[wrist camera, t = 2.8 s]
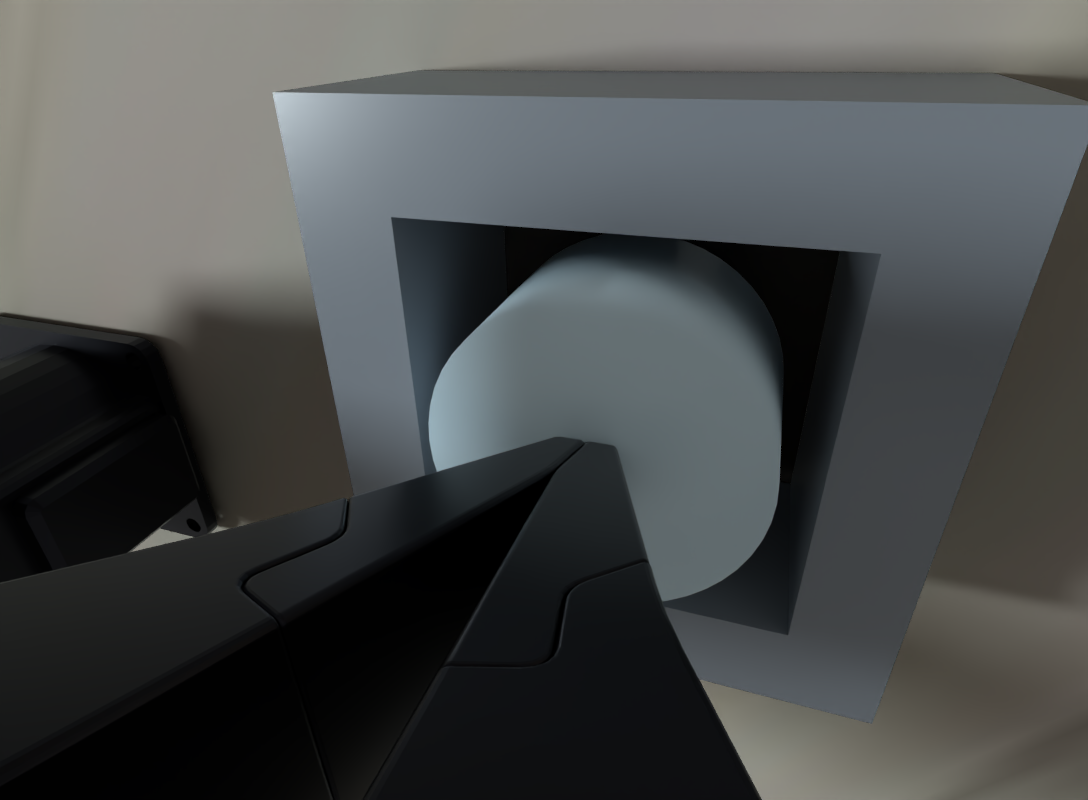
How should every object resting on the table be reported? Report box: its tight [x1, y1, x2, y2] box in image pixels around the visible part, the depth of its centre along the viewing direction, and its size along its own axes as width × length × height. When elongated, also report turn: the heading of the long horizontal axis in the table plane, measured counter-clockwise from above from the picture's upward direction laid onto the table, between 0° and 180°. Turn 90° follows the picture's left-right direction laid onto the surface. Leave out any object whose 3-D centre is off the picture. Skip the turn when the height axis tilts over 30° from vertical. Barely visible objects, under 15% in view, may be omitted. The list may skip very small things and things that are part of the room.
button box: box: [273, 70, 1088, 724], centre depth 11 cm, size 9×9×4 cm
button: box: [428, 234, 784, 601], centre depth 10 cm, size 5×5×3 cm
